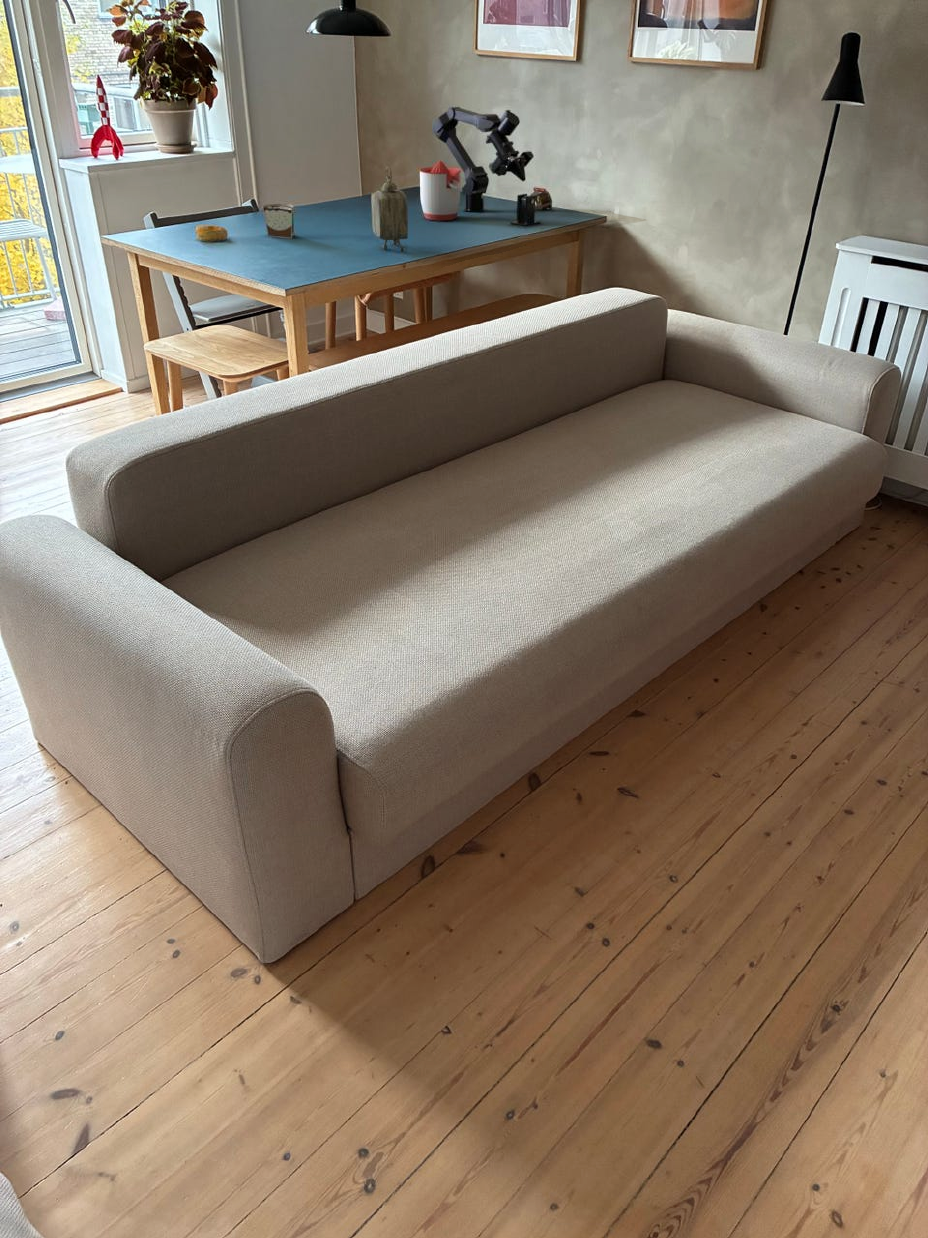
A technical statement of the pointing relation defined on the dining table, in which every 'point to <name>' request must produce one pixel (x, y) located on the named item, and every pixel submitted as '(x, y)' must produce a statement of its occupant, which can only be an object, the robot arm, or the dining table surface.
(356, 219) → the dining table surface
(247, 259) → the dining table surface
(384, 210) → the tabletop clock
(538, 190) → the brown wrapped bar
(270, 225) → the food container
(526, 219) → the bracket
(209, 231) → the bagel
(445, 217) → the citrus juicer
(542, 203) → the mechanical counter
